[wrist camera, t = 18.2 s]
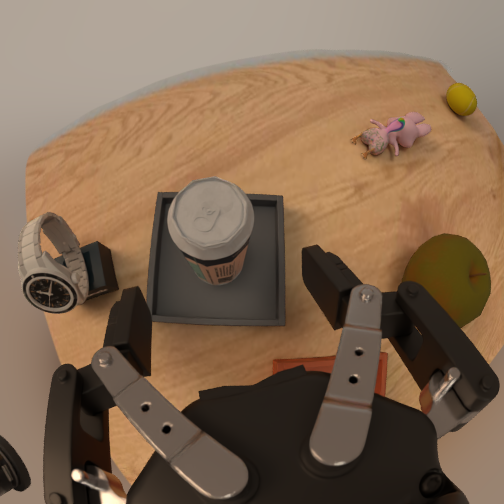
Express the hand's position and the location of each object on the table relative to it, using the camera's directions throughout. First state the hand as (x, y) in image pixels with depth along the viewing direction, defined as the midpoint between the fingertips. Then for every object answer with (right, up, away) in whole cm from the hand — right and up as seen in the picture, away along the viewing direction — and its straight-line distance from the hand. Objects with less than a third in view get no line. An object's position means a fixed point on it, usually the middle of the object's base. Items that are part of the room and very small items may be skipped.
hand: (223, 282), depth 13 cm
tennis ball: (+43, +31, +25) cm, 59 cm away
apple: (+21, -3, +15) cm, 26 cm away
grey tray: (-2, +1, +13) cm, 13 cm away
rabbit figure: (+21, +17, +20) cm, 34 cm away
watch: (-15, -1, +12) cm, 19 cm away
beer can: (-2, +1, +13) cm, 13 cm away
